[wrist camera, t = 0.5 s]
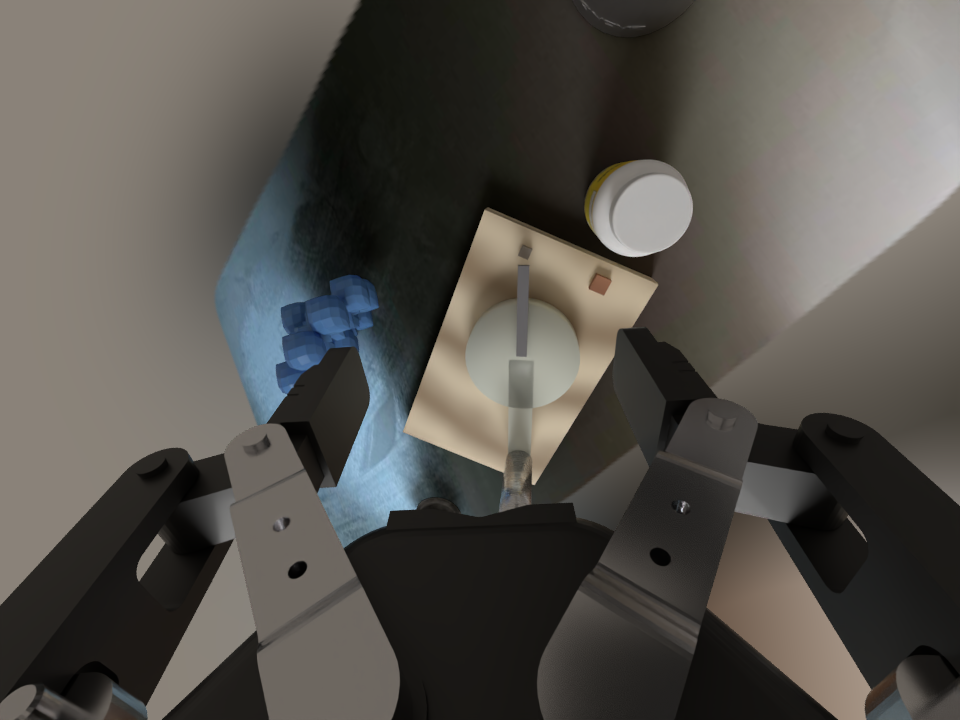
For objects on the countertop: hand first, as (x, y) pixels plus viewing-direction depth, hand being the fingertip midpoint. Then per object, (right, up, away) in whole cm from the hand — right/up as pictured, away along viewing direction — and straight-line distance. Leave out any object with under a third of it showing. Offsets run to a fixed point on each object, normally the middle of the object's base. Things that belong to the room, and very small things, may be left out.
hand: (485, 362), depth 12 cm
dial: (+3, -1, +22) cm, 22 cm away
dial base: (+3, 0, +24) cm, 24 cm away
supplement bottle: (+10, +12, +17) cm, 23 cm away
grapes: (-12, +5, +24) cm, 27 cm away
